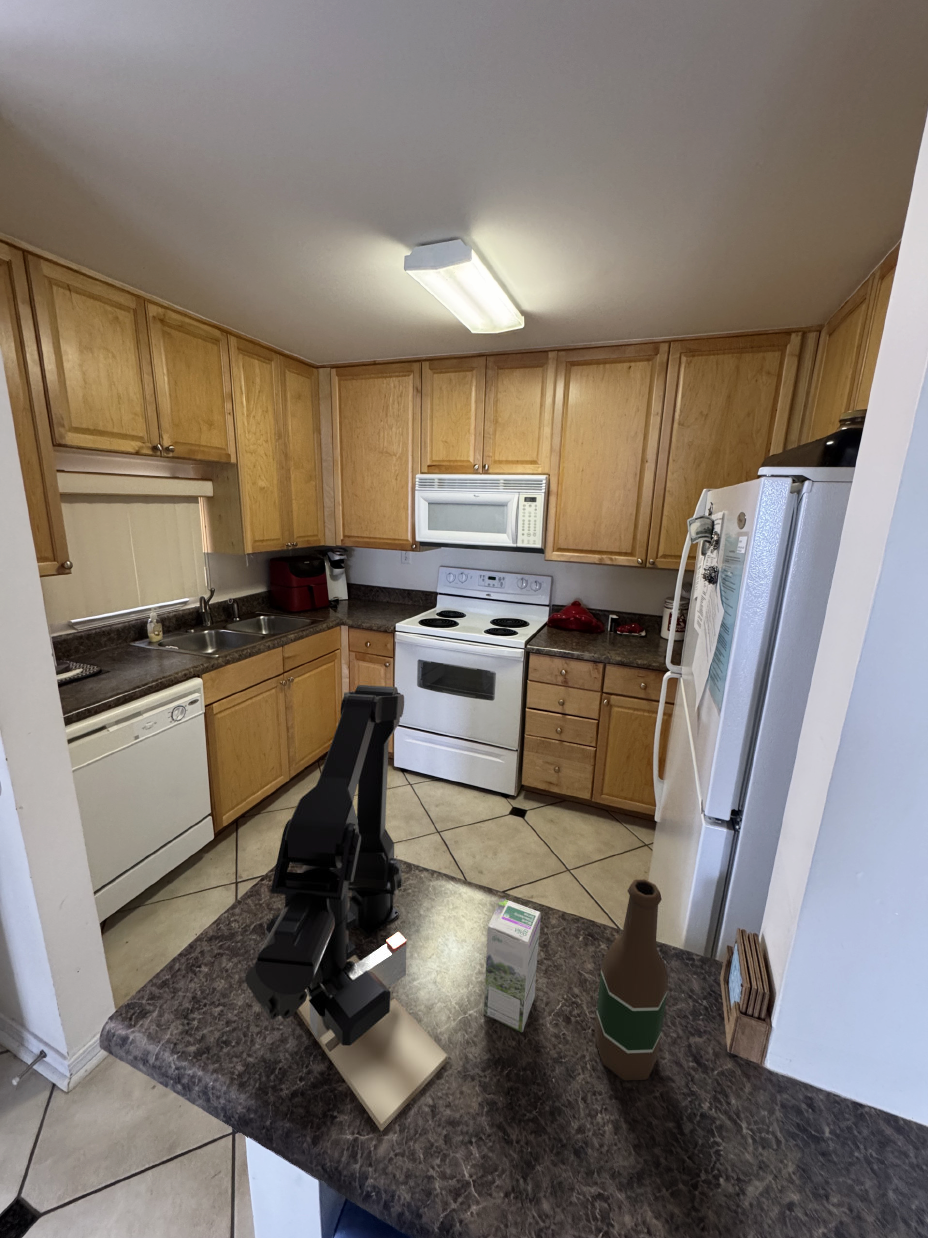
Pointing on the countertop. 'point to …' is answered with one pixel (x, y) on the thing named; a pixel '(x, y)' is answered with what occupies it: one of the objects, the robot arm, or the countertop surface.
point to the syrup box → (511, 963)
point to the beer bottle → (633, 990)
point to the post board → (384, 1060)
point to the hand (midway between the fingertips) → (325, 1020)
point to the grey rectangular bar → (382, 963)
